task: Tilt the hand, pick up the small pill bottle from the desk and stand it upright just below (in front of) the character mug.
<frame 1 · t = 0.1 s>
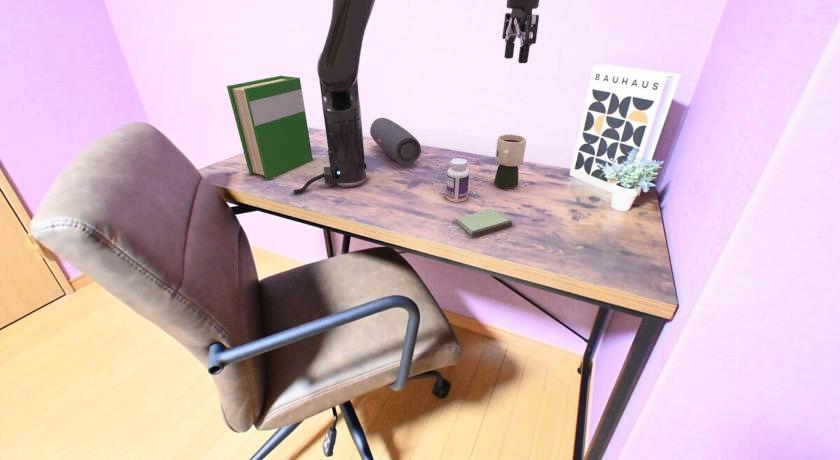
hand: (515, 60, 95), 29 cm above the table, tool pointing down, fingers open, 8 cm apart
hardback book: (282, 167, 110), on the table
pill bottle: (456, 198, 94), on the table
bluetooth speaker: (394, 156, 118), on the table
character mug: (505, 186, 100), on the table
notebook: (483, 224, 82), on the table
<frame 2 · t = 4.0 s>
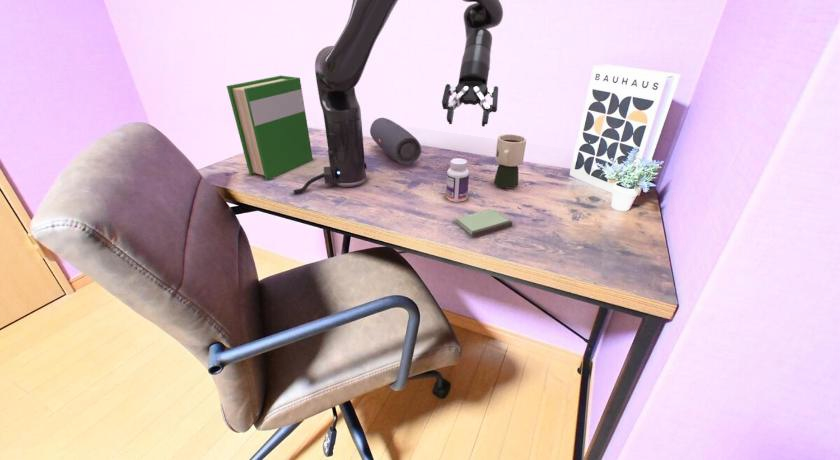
hand: (466, 123, 95), 15 cm above the table, tool tilted 45°, fingers open, 8 cm apart
nothing on the table moved.
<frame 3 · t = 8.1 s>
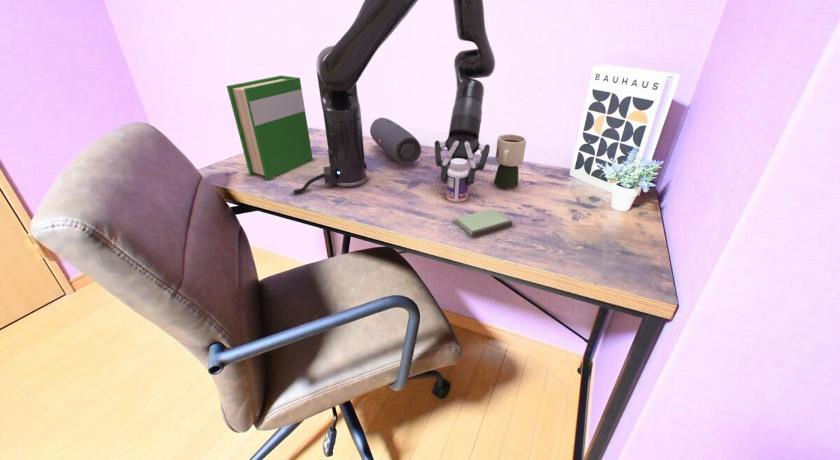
hand: (456, 183, 89), 5 cm above the table, tool tilted 45°, fingers closed on pill bottle, 5 cm apart
pill bottle: (456, 198, 94), on the table, touching gripper
everything else where it was.
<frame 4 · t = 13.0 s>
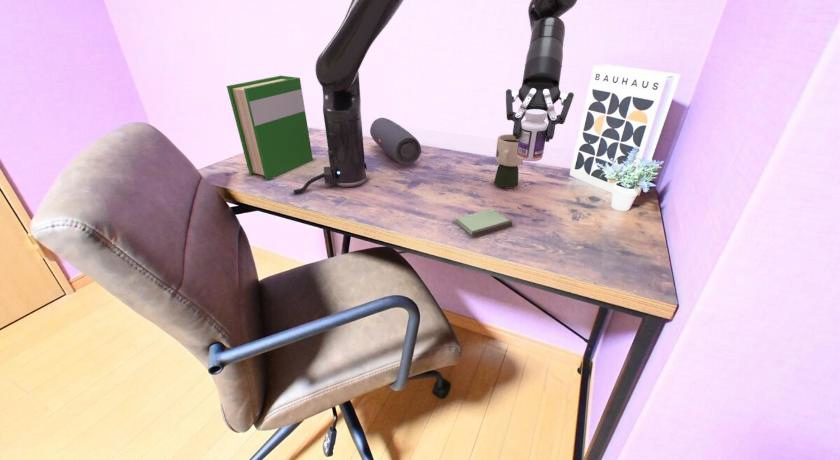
hand: (532, 138, 76), 18 cm above the table, tool tilted 45°, fingers closed on pill bottle, 5 cm apart
pill bottle: (529, 158, 80), point 13 cm above the table, touching gripper
everything else where it was.
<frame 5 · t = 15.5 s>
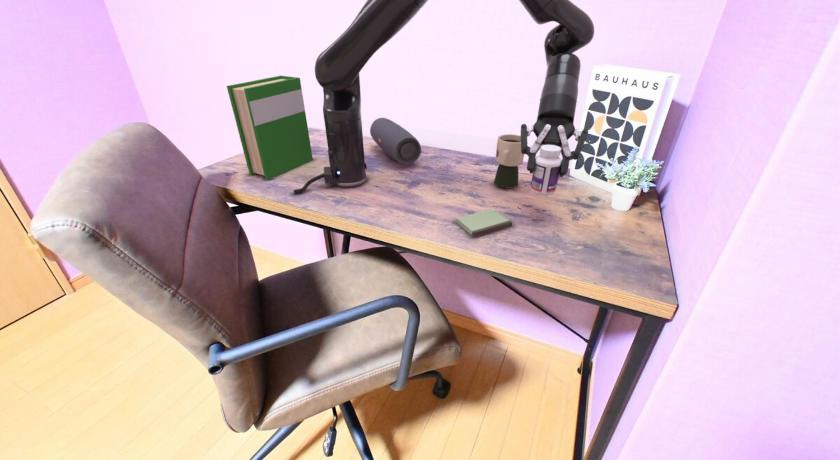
hand: (546, 173, 77), 12 cm above the table, tool tilted 45°, fingers closed on pill bottle, 5 cm apart
pill bottle: (542, 191, 81), point 7 cm above the table, touching gripper
everything else where it was.
when the fingers open (5 cm above the table, at t = 17.9 s): pill bottle stays where it is, on the table.
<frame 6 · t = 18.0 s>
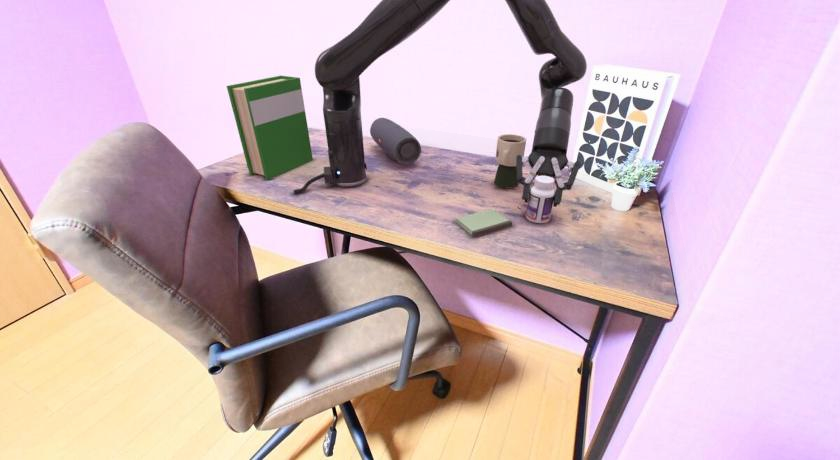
hand: (540, 203, 81), 5 cm above the table, tool tilted 45°, fingers open, 5 cm apart
pill bottle: (537, 218, 85), on the table
everything else where it was.
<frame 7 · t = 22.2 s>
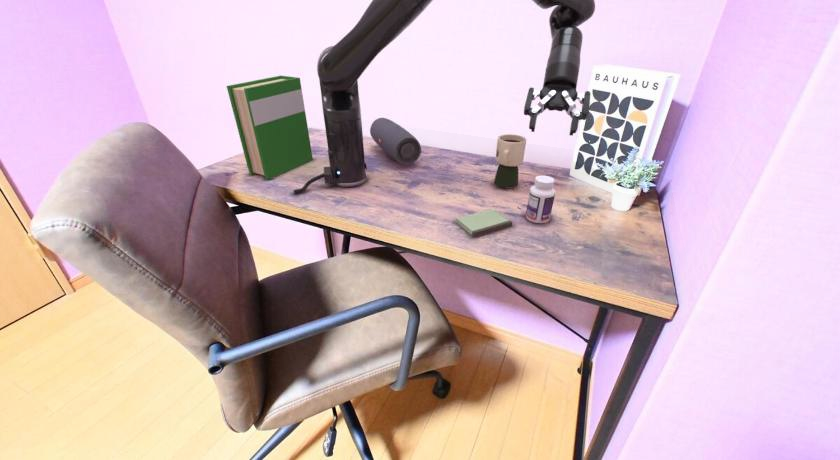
hand: (552, 132, 85), 17 cm above the table, tool tilted 45°, fingers open, 8 cm apart
nothing on the table moved.
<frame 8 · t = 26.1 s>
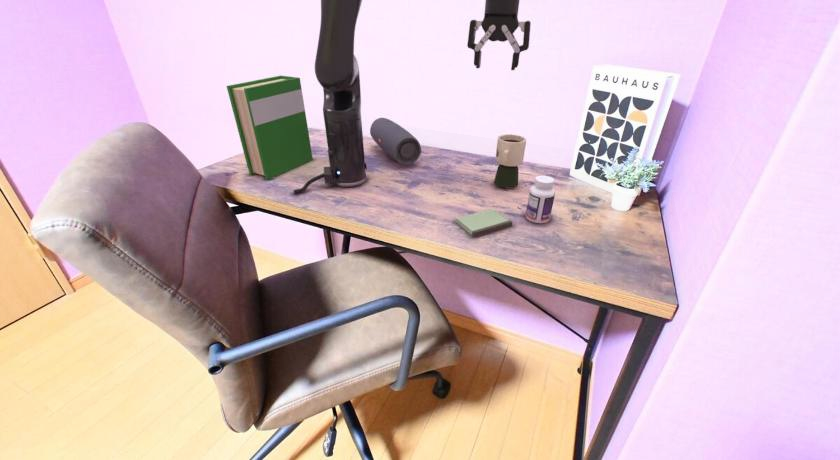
hand: (495, 68, 91), 28 cm above the table, tool pointing down, fingers open, 8 cm apart
nothing on the table moved.
at the end: pill bottle inside the target area on the table beside the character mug (0.2 cm from its centre), on the table; pill bottle tilted 0°; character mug moved 0.2 cm from its start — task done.
